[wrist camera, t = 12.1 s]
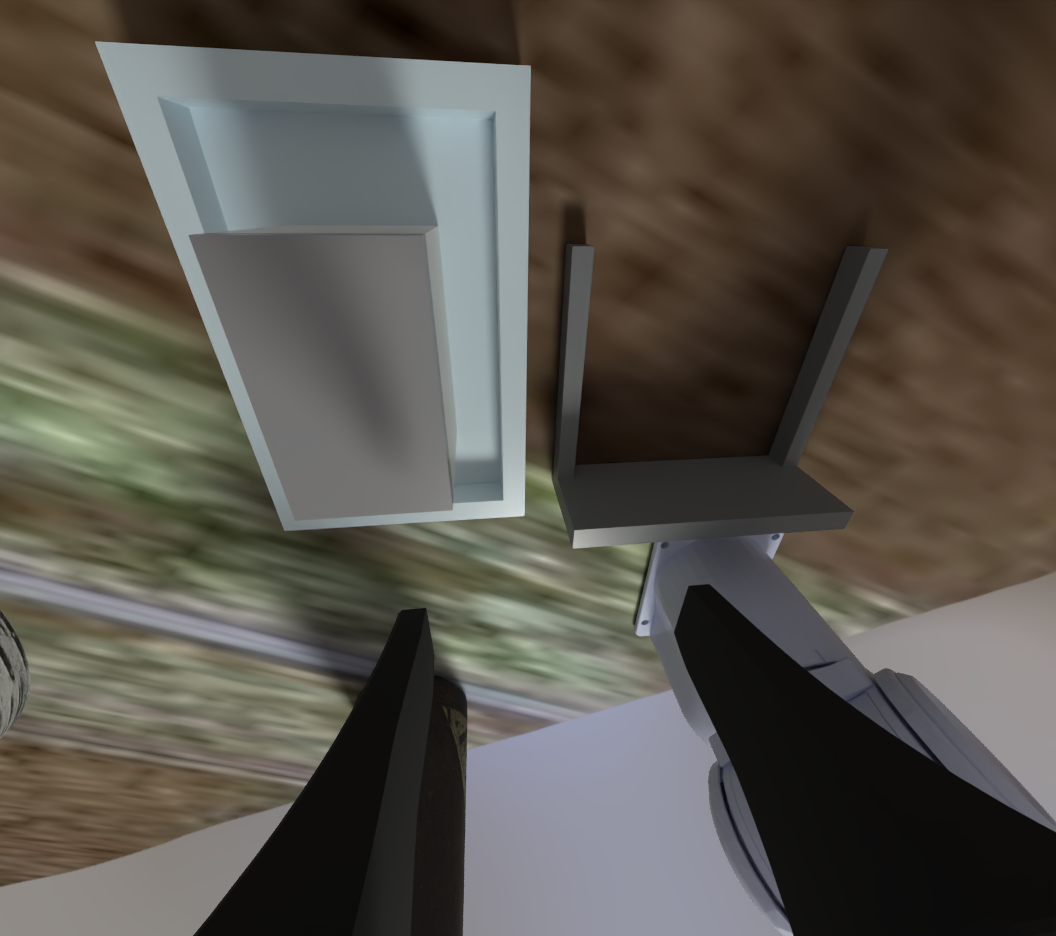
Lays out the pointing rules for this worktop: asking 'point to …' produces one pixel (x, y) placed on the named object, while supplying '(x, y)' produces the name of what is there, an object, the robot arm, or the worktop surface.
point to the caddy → (342, 361)
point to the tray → (358, 207)
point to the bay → (710, 483)
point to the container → (441, 818)
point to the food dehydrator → (12, 676)
